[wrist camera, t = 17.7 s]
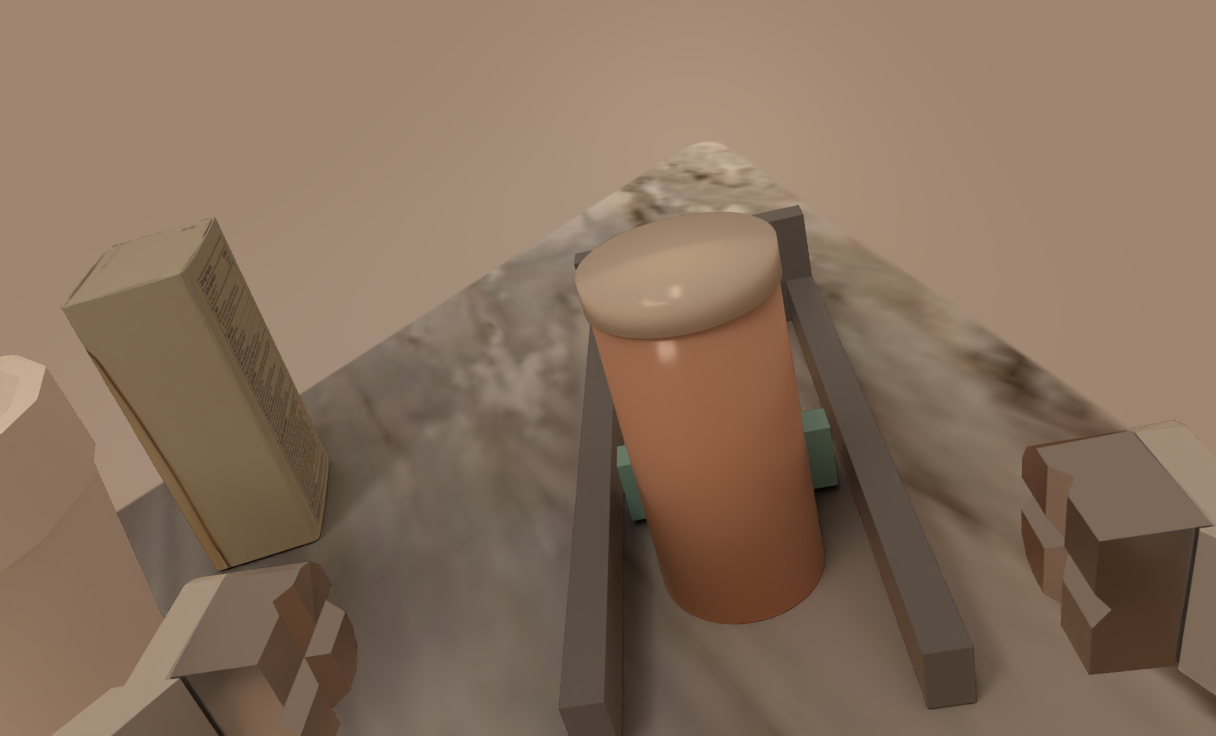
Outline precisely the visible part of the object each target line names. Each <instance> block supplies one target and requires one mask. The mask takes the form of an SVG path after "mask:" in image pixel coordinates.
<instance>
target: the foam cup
mask: <svg viewBox="0 0 1216 736" xmlns="http://www.w3.org/2000/svg"><path fill="white" fill-rule="evenodd" d="M94 449H95V442H94V441H93V439H92V438H91V436H90V435H89V433H88V431H87V430H86V428H85V427H84V425H83V424H82V422H81V420H80V419H79V417H78V416H77V414H76V413H75V411H74V409H73V408H72V406H71V405H70V403H69V402H68V400H67V398H66V397H65V395H64V394H63V392H62V391H61V389H60V387H59V386H58V384H57V383H56V381H55V380H54V378H53V376H52V375H51V374H50V372H49V370H48V369H47V367H46V366H44V365H41V364H39V363H36V362H34V361H31V360H28V359H26V358H23V357H20V356H18V355H10V356H2V357H0V736H51V735H53V734H54V733H55V732H56V731H58V730H59V729H60V728H62V727H63V726H64V725H65V724H67V723H68V722H69V721H70V720H72V719H73V718H74V717H76V716H77V715H78V714H79V713H81V712H82V711H83V710H84V709H86V708H87V707H88V706H89V705H91V704H92V703H93V702H95V701H96V700H97V699H98V698H100V697H101V696H102V695H103V694H105V693H106V692H107V691H108V690H110V689H111V688H115V687H121V686H124V685H125V684H126V682H127V680H128V679H129V677H130V675H131V674H132V672H133V670H134V669H135V667H136V665H137V664H138V662H139V660H140V659H141V657H142V655H143V654H144V652H145V650H146V649H147V647H148V645H149V643H150V642H151V640H152V638H153V637H154V635H155V633H156V632H157V630H158V628H159V627H160V625H161V623H162V622H163V620H164V619H163V617H162V614H161V612H160V610H159V608H158V605H157V603H156V601H155V599H154V596H153V594H152V592H151V590H150V587H149V585H148V583H147V581H146V578H145V576H144V574H143V572H142V569H141V567H140V565H139V563H138V560H137V558H136V556H135V554H134V551H133V549H132V547H131V545H130V542H129V540H128V538H127V536H126V533H125V531H124V529H123V527H122V524H121V522H120V520H119V518H118V515H117V513H116V511H115V509H114V507H113V504H112V502H111V500H110V497H109V495H108V493H107V491H106V488H105V486H104V484H103V482H102V479H101V477H100V475H99V473H98V470H97V468H96V466H95V464H94V461H93V459H94Z"/></svg>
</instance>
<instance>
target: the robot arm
mask: <svg viewBox="0 0 1216 736" xmlns="http://www.w3.org/2000/svg"><path fill="white" fill-rule="evenodd" d="M1022 478H1023V480H1024V481H1025V483H1026V485H1027V486H1028V488H1029V490H1030V491H1031V493H1032V494H1033V495H1032V496H1031V497H1030V499H1029V500H1028V501H1027V502H1026V504H1025V505H1024V506H1023V507H1022V508H1021V521H1022V536H1023V541H1024V546H1025V551H1026V556H1027V559H1028V562H1029V564H1030V567H1031V569H1032V572H1033V575H1034V577H1035V578H1036V580H1037V582H1038V584H1039V586H1040V588H1041V590H1042V592H1043V593H1044V594H1046V595H1048V596H1049V597H1051V598H1053V599H1055V600H1056V601H1058V602H1060V603H1062V606H1061V626H1062V628H1063V630H1064V631H1065V633H1066V635H1067V637H1068V638H1069V640H1070V642H1071V644H1072V645H1073V647H1074V649H1075V651H1076V653H1077V654H1078V656H1079V658H1080V660H1081V661H1082V663H1083V665H1084V667H1085V668H1086V670H1087V672H1088V674H1089V675H1092V674H1102V673H1111V672H1121V671H1131V670H1141V669H1150V668H1160V667H1170V666H1179V667H1178V670H1179V671H1181V672H1182V673H1184V674H1185V675H1187V676H1188V677H1189V678H1191V679H1192V680H1194V681H1195V682H1197V683H1198V684H1200V685H1201V686H1203V687H1204V688H1205V689H1207V690H1208V691H1210V692H1211V693H1213V694H1214V695H1216V456H1215V455H1214V454H1213V453H1212V452H1211V451H1210V450H1209V449H1208V448H1207V447H1206V446H1205V445H1204V444H1203V443H1202V442H1201V441H1200V440H1199V439H1198V438H1197V437H1196V436H1195V435H1194V434H1193V433H1192V432H1191V431H1190V430H1189V428H1188V427H1186V426H1185V425H1184V424H1182V423H1180V422H1177V421H1174V420H1172V421H1167V422H1162V423H1156V424H1151V425H1145V426H1140V427H1134V428H1129V429H1124V430H1123V431H1120V432H1113V433H1107V434H1101V435H1095V436H1089V437H1083V438H1077V439H1071V440H1064V441H1058V442H1052V443H1046V444H1040V445H1034V446H1028V447H1026V449H1025V452H1024V455H1023V458H1022ZM330 588H331V583H330V581H329V580H328V578H327V576H326V574H325V573H324V571H323V569H322V567H321V566H320V565H319V564H315V563H312V562H303V563H296V564H288V565H281V566H274V567H266V568H259V569H252V570H244V571H237V572H233V573H227V574H220V575H213V576H206V577H199V578H195V579H194V580H192V581H190V582H189V583H187V584H185V585H184V587H183V588H182V590H181V592H180V593H179V595H178V597H177V598H176V600H175V602H174V603H173V605H172V607H171V608H170V610H169V612H168V613H167V615H166V617H165V618H164V620H163V622H162V623H161V625H160V627H159V628H158V630H157V632H156V633H155V635H154V637H153V638H152V640H151V642H150V643H149V645H148V647H147V649H146V650H145V652H144V654H143V655H142V657H141V659H140V660H139V662H138V664H137V665H136V667H135V669H134V670H133V672H132V674H131V675H130V677H129V679H128V680H127V682H126V684H125V685H124V686H121V687H115V688H111V689H110V690H108V691H107V692H106V693H105V694H103V695H102V696H101V697H100V698H98V699H97V700H96V701H95V702H93V703H92V704H91V705H89V706H88V707H87V708H86V709H84V710H83V711H82V712H81V713H79V714H78V715H77V716H76V717H74V718H73V719H72V720H70V721H69V722H68V723H67V724H65V725H64V726H63V727H62V728H60V729H59V730H58V731H56V732H55V733H54V734H53V735H51V736H336V733H337V730H338V727H339V724H340V722H339V720H338V718H337V716H336V714H335V712H334V710H333V707H334V706H335V705H336V704H337V703H338V702H339V701H340V700H341V699H342V698H343V697H344V696H345V695H346V694H347V693H348V692H349V691H350V689H351V686H352V683H353V679H354V676H355V673H356V664H357V643H356V639H355V635H354V631H353V627H352V625H351V622H350V620H349V618H348V616H347V614H346V612H345V611H343V610H342V609H340V608H338V607H337V606H335V605H333V604H332V603H330V602H329V601H327V600H326V599H327V596H328V594H329V591H330Z"/></svg>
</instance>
